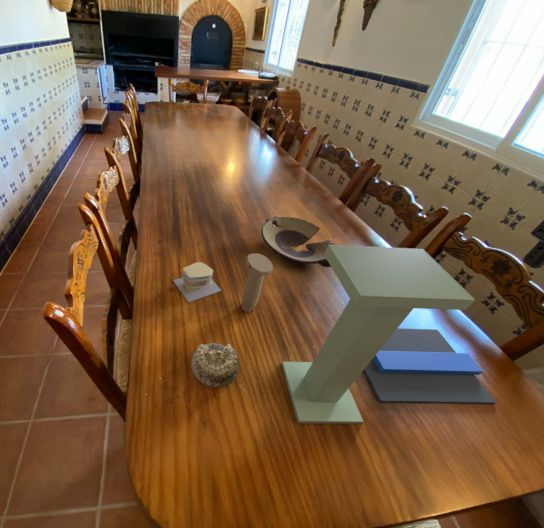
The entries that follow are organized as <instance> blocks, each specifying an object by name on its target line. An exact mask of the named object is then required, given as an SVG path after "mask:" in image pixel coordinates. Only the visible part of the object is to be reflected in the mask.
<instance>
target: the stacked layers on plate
mask: <svg viewBox="0 0 544 528" xmlns="http://www.w3.org/2000/svg"><path fill="white" fill-rule="evenodd" d="M182 270H183V271H182V275H183V276H182V277H179V278H176V279H173V280H172V281H173V283H174V284H175V286H176V287H177V288H178V290H179V291H180V293H181V294H182V295H183V298H184V299H185V300H186V301H187V302H188V303H192V302H194V301H197V300H199V299H203V298H205V297H208V296H211V295H214V294H217V293H219V292H221V291H222V289H221V288H220V287H219V286H218V284H216V282H215V281H214V280H213V276H214V269H213V268H211V267H210V266H209V265H207V264H205V263H204V262H201V261H196V262H194V263H192V264H189V265H187V266H185V267H183V268H182Z"/></svg>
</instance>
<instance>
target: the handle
mask: <svg viewBox="0 0 544 528" xmlns="http://www.w3.org/2000/svg"><path fill="white" fill-rule="evenodd" d="M246 265H247V268H248V270H249V273H248V276H247V279H246V281H245V285H244V287H243V291H242V296H241V310H242V311H244V312H246V313H251V312H253V311H254V310H255V307H256V305H257V304H258V302H259V299H260V295H261V291H262V288H263V282H264V278H265V276H269V275H271V274H272V273H273V270H274V266H273V263H272V262H271V260H270V259H269V258H268V257H267V256H265V255H263V254H261V253H258V252H256V253H250V254H248V255H247V257H246Z"/></svg>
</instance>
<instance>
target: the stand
mask: <svg viewBox="0 0 544 528" xmlns="http://www.w3.org/2000/svg"><path fill="white" fill-rule="evenodd" d="M324 255H325V257H326V259H327V260H328V262H329V264H330V265H331V267H330V268H331V269H332V270H333V272H334V274H335V276H336V277H337V279H338V281H339V282H340V284H341V286H342V288H343V289H344V291H345V292H346V295H347V296H348V298H349V300H348V302H347V303H346V305H345V307H344V308H343V311H342V312H341V313H340V315H339V318H338V319H337V320H336V323H335V324H334V326H333V327H332V329H331V331H330V332H329V334H328V336H327V337H326V339H325V341H324V342H323V344H322V346H321V347H320V349H319V351H318V353H317V354H316V356H315V358H314V359H313V361H281V368H282V372H283V375H284V379H285V383H286V386H287V390H288V393H289V397H290V400H291V405H292V408H293V411H294V415H295V418H296V422H297V424H313V425H314V424H321V425H323V424H326V425H362V424H363V423H364V420H363V417H362V415H361V412H360V411H359V409H358V406H357V403H356V401H355V399H354V397H353V395H352V392H351V390H350V387H352V386H353V384H354V382H356V380H357V379H358V378H359V376H360V375H361V374H362V372H364V369H365V368H366V366H367V365H368V364H369V363H370V361H371V360H372V359H373V358H374V356H375V355H376V354H377V353H378V352H379V350H380V349H381V348H382V347H383V345H384V344H385V343H386V342H387V340H388V339H389V338H390V337H391V336H392V334H393V333H394V332H395V331H396V329H397V328H399V327H400V326H401V324H402V323H403V322H404V321H405V320H406V318H407V317H408V316H409V315H410V314H411V312H412V311H413V310H414V309H423V310H424V309H425V310H452V311H453V310H454V311H455V310H456V311H467V309H469V307H470V306H471V305H472V304H473V303H474V302H475V301H476V299H475V297H473V296H472V295H471V294H470V293H469V292H468V291H467V289H465V288H464V287H463V286H462V285H461V284H460V283H459V282H458V281H457V280H455V278H454V277H453V276H451V274H449V273H448V272H447V270H445V269H444V268H443V267H442V266H441V265H440V264H439V263H438V262H437V261H436V260H435V259H434V258H433V257H432V256H431V255H430V254H429V253H428V252H426V250H425V249H424V248H410V247H390V246H389V247H387V246H366V245H345V244H334V245H328V247H327V249H326V251H325V254H324Z"/></svg>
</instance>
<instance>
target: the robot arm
mask: <svg viewBox="0 0 544 528" xmlns="http://www.w3.org/2000/svg"><path fill="white" fill-rule="evenodd" d="M530 235H531V236H532V237H534V238H535V239H537V240H538V242H537V243H536V244H535V245H534V247H532V248H531V249H530V250H529V252H528V253H526V254H525V256H524V257H523V258H522V262H523V263H524V264H526V265H527V266H529V267H530V268H531V269H541V268H542V267H543V266H544V219H543V220H542V221H541V222H540V223H539V224H538V225H537V226H536V227H535V228H534V229H533V230H532V231H531V232H530Z"/></svg>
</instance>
